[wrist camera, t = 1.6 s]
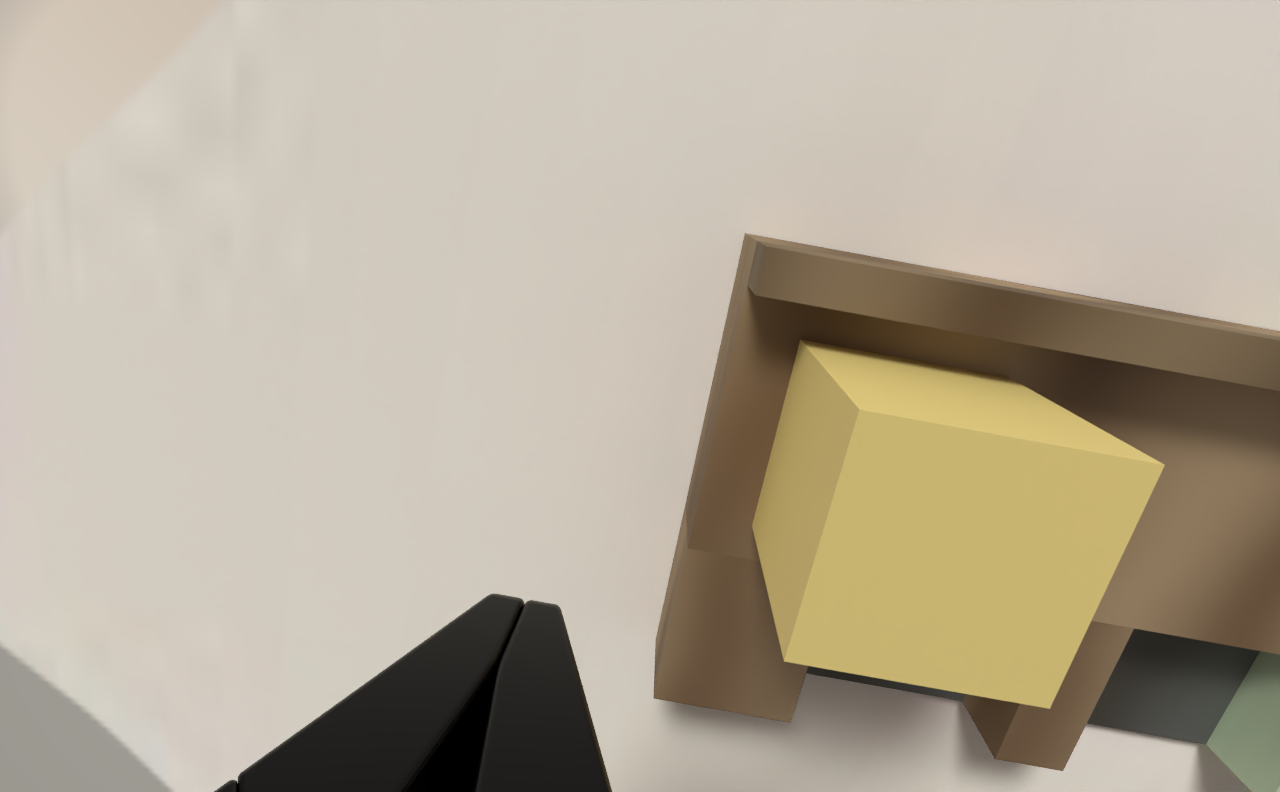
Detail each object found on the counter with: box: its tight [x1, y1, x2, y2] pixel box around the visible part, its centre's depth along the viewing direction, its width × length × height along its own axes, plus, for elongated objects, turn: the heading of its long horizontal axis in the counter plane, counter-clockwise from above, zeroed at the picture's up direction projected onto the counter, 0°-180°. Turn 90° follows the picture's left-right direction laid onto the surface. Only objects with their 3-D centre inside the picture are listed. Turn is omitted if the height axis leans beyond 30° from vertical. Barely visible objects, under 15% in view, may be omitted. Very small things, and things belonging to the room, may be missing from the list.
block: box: [752, 340, 1165, 709], centre depth 13 cm, size 5×5×5 cm
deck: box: [654, 233, 1280, 792], centre depth 16 cm, size 26×13×6 cm, turn 80°
